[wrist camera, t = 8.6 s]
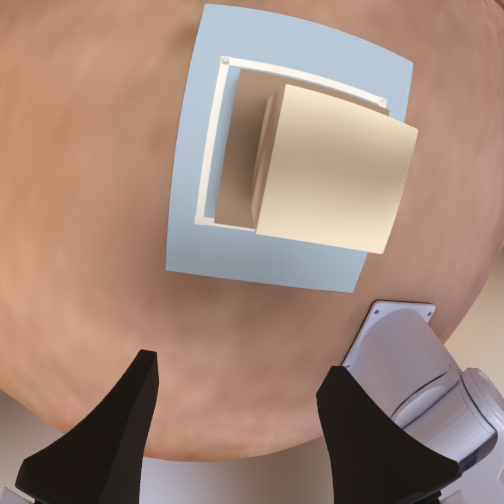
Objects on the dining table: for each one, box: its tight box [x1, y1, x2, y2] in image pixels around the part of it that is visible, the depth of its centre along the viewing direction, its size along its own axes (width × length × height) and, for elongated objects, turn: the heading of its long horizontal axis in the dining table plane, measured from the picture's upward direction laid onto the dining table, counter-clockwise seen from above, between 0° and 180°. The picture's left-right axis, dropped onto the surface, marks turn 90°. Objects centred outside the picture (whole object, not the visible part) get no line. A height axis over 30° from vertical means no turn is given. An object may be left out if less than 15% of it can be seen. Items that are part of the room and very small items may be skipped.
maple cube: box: [249, 84, 418, 254], centre depth 11 cm, size 5×5×5 cm
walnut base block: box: [214, 69, 390, 229], centre depth 15 cm, size 8×8×3 cm
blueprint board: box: [166, 4, 413, 293], centre depth 16 cm, size 18×14×1 cm
